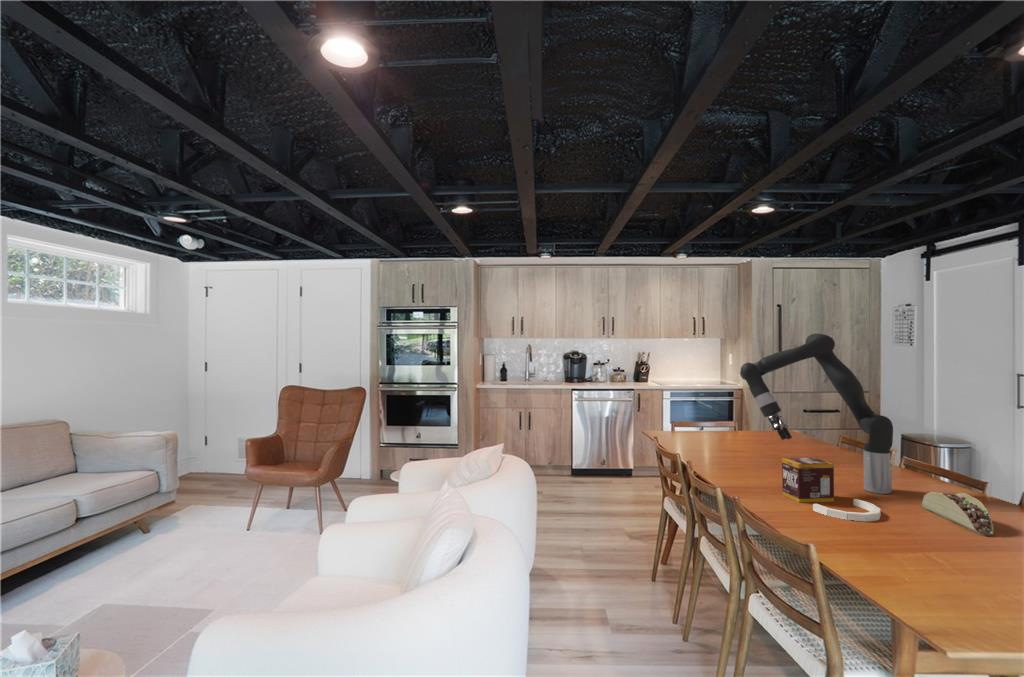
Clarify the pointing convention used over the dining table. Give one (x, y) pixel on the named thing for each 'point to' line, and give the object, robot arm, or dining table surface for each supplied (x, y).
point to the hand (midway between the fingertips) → (787, 438)
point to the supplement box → (808, 479)
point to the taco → (960, 511)
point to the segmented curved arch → (867, 516)
